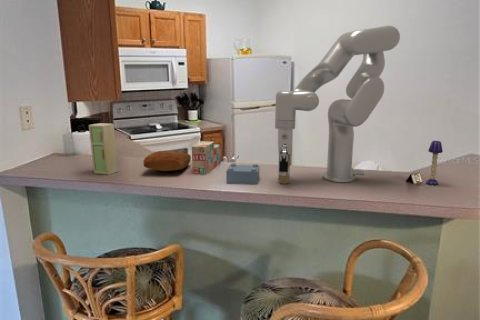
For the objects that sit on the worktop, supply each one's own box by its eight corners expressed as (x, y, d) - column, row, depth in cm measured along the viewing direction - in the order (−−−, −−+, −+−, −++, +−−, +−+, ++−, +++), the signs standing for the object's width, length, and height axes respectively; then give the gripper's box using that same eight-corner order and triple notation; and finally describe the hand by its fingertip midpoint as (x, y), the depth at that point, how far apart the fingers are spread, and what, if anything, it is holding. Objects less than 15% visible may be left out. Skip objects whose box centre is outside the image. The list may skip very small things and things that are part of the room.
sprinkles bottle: (292, 182, 136) (293, 148, 133) (283, 184, 134) (284, 150, 131) (284, 180, 140) (285, 146, 137) (275, 181, 137) (276, 148, 134)
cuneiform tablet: (179, 177, 144) (178, 158, 142) (140, 176, 146) (138, 157, 144) (193, 165, 165) (193, 148, 163) (159, 163, 167) (158, 147, 166)
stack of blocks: (208, 162, 170) (207, 137, 167) (220, 163, 168) (220, 138, 165) (192, 174, 149) (191, 145, 147) (206, 175, 148) (205, 146, 145)
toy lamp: (437, 186, 130) (443, 142, 127) (423, 184, 133) (429, 141, 129) (438, 183, 134) (444, 140, 131) (425, 181, 137) (430, 139, 133)
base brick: (259, 177, 144) (259, 163, 142) (257, 184, 134) (257, 169, 133) (230, 176, 145) (230, 162, 144) (226, 183, 136) (226, 168, 134)
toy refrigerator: (92, 173, 150) (87, 124, 145) (104, 169, 157) (100, 122, 152) (106, 175, 147) (102, 125, 143) (118, 171, 154) (114, 123, 149)
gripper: (295, 127, 123) (293, 174, 127) (294, 122, 139) (292, 163, 143) (274, 127, 124) (272, 173, 127) (275, 121, 140) (274, 163, 144)
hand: (283, 168), depth 135 cm, fingers open, 9 cm apart
